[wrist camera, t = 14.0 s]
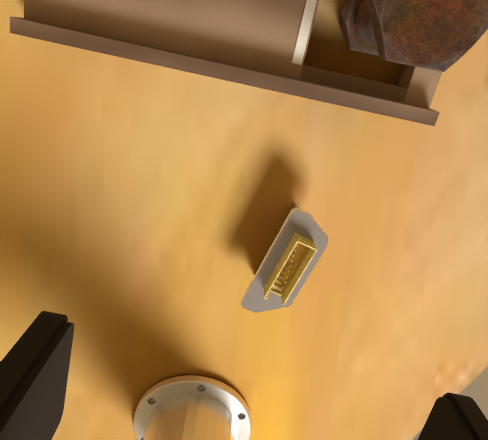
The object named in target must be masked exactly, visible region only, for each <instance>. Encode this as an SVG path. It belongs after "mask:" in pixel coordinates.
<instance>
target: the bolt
mask: <svg viewBox="0 0 488 440" xmlns="http://www.w3.org/2000/svg"><path fill="white" fill-rule="evenodd" d="M339 18H340V23H341V28H342V32H343V36H344V39H345V42H346V45H347V48H348V50H353V51H357V52H362V53H367V54H372V55H377V56H379V57H380V60H385V61H390V62H395V63H400V64H405V65H410V66H415V67H420V68H425V69H430V70H434V71H441V72H444V71H445V70H447V69H448V68H449V67H450V66H452V65H453V64H454V63H455V62H457V61H458V60H459V59H460V58H461V57H462V56H463V55H464V54H465V53H466V52H467V51H468V50H469V49H470V48H471V47H472V46H473V45H474V44H475V43H476V42H477V41H478V40H479V38H480V37H481V36H482V35H483V34H484V33H485V31H486V30H487V29H488V0H348V1H347V2H346V4H345V5H344V6H343V7H342V9H341V10H340V11H339Z"/></svg>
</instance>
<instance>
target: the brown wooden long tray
mask: <svg viewBox="0 0 488 440" xmlns="http://www.w3.org/2000/svg"><path fill="white" fill-rule="evenodd" d="M318 2H319V0H24V18H18V17H10V33H13V34H18V35H22V36H27V37H31V38H36V39H41V40H45V41H50V42H54V43H59V44H63V45H68V46H72V47H77V48H81V49H86V50H91V51H95V52H100V53H104V54H109V55H113V56H118V57H122V58H127V59H131V60H136V61H141V62H145V63H150V64H154V65H159V66H163V67H168V68H172V69H177V70H181V71H186V72H191V73H195V74H200V75H204V76H209V77H213V78H218V79H222V80H227V81H231V82H236V83H241V84H245V85H250V86H254V87H259V88H263V89H268V90H272V91H277V92H281V93H286V94H291V95H295V96H300V97H304V98H309V99H313V100H318V101H322V102H327V103H331V104H336V105H341V106H345V107H350V108H354V109H359V110H363V111H368V112H372V113H377V114H381V115H386V116H391V117H395V118H400V119H404V120H409V121H413V122H418V123H422V124H427V125H431V126H435V123H436V120H437V118H438V115H439V112H437V111H435V110H432V109H430V108H429V107H430V104H431V101H432V98H433V96H434V93H435V90H436V87H437V84H438V82H439V79H440V76H441V73H442V72H441V71H434V70H430V69H425V68H420V67H415V66H410V65H405V64H402V68H401V71H400V74H399V77H398V80H397V83H396V85H393V84H388V83H384V82H380V81H375V80H371V79H366V78H362V77H357V76H353V75H348V74H344V73H340V72H335V71H331V70H326V69H322V68H317V67H313V66H308V65H304V64H303V63H304V59H305V55H306V51H307V47H308V43H309V39H310V35H311V31H312V27H313V23H314V19H315V15H316V11H317V6H318Z"/></svg>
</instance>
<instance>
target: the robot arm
mask: <svg viewBox="0 0 488 440" xmlns="http://www.w3.org/2000/svg"><path fill="white" fill-rule="evenodd" d="M73 333H74V323H70V322H68V318H67V316H66V315H62V314H57V313H52V312H47V311H42V312H41V313H40V314H39V315H38V317H37V318H36V319H35V320H34V322H33V323H32V324H31V325H30V327H29V328H28V329H27V330H26V331H25V333H24V334H23V335H22V336H21V338H20V339H19V340H18V341H17V343H16V344H15V345H14V346H13V348H12V349H11V350H10V351H9V352H8V354H7V355H6V356H5V357H4V359H3V360H2V361H0V440H51V439H52V437H53V435H54V433H55V431H56V429H57V428H58V425H59V423H60V420H61V417H62V414H63V409H64V401H65V394H66V386H67V378H68V371H69V363H70V356H71V348H72V340H73ZM251 429H252V426H251V415H250V410H249V408H248V406H247V404H246V402H245V401H244V399H243V398H242V397H241V396H240V394H238V393H237V392H236V391H235V390H234V389H233V388H231V387H230V386H228V385H226V384H224V383H223V382H220V381H218V380H215V379H212V378H208V377H203V376H194V375H186V376H177V377H173V378H169V379H166V380H164V381H162V382H159V383H157V384H156V385H154V386H153V387H152V388H150V389H149V390H148V391H147V392H146V393H145V394H144V395H143V396H142V398H141V400H140V401H139V403H138V406H137V409H136V412H135V416H134V431H135V434H136V437H137V439H138V440H249V439H250V436H251ZM418 440H488V420H487V419H486V417H485V416H484V414H483V413H482V411H481V410H480V408H479V407H478V405H477V404H476V403H475V401H474V400H473V399H472V398H471V397H468V396H463V395H458V394H453V393H446V394H445V395H443V397H439V398H438V399H437V400H436V402H435V404H434V406H433V408H432V410H431V412H430V415H429V417H428V419H427V421H426V423H425V425H424V427H423V430H422V432H421V434H420V436H419V438H418Z"/></svg>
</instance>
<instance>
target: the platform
mask: <svg viewBox="0 0 488 440" xmlns="http://www.w3.org/2000/svg"><path fill="white" fill-rule="evenodd" d="M327 242H328V238H327V235H326V233H325V232H324V231H323V230H322V228H321V227H320V226H319V225H318V223H317V222H316V221H315V220H314V218H313V217H312V216H311V214H310V213H308V212H306V211H304V210H302V209H300V208H297V207H296V205H295V204H294V205H293V207H292V209H291V211H290V212H289V214H288V216H287V218H286V220H285V221H284V223H283V225H282V227H281V229H280V230H279V232H278V234H277V236H276V238H275V239H274V241H273V243H272V245H271V246H270V248H269V250H268V252H267V254H266V255H265V257H264V259H263V261H262V263H261V264H260V266H259V268H258V270H257V272H256V273H255V276H254V277H253V279H252V281H251V283H250V285H249V286H248V288H247V290H246V292H245V294H244V295H243V297H242V299H241V305H242V307H243V308H245V309H247V310H250V311H252V312H255V313H257V312H262V311H268V310H273V309H278V308H283V307H288V306H290V305H291V304H292V302H293V301H294V299H295V297H296V296H297V294H298V292H299V291H300V289H301V288H302V286H303V284H304V283H305V281H306V279H307V278H308V276H309V274H310V273H311V271H312V270H313V268H314V266H315V265H316V263H317V261H318V260H319V258H320V256H321V255H322V253H323V252H324V250H325V248H326V247H327ZM298 243H299V244H298ZM309 244H310V245H309ZM297 245H298V247H297ZM305 247H306V248H305ZM304 249H305V250H304ZM295 250H296V252H295ZM293 256H294V257H293ZM292 260H293V262H291V261H292ZM290 265H291V267H290ZM288 271H289V272H288ZM279 274H280V275H279ZM286 277H288V278H286ZM286 279H287V280H286ZM279 280H280V281H279ZM285 281H286V283H285ZM274 284H275V285H274ZM276 285H277V286H276ZM281 287H282V288H281ZM283 287H284V289H283Z"/></svg>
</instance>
